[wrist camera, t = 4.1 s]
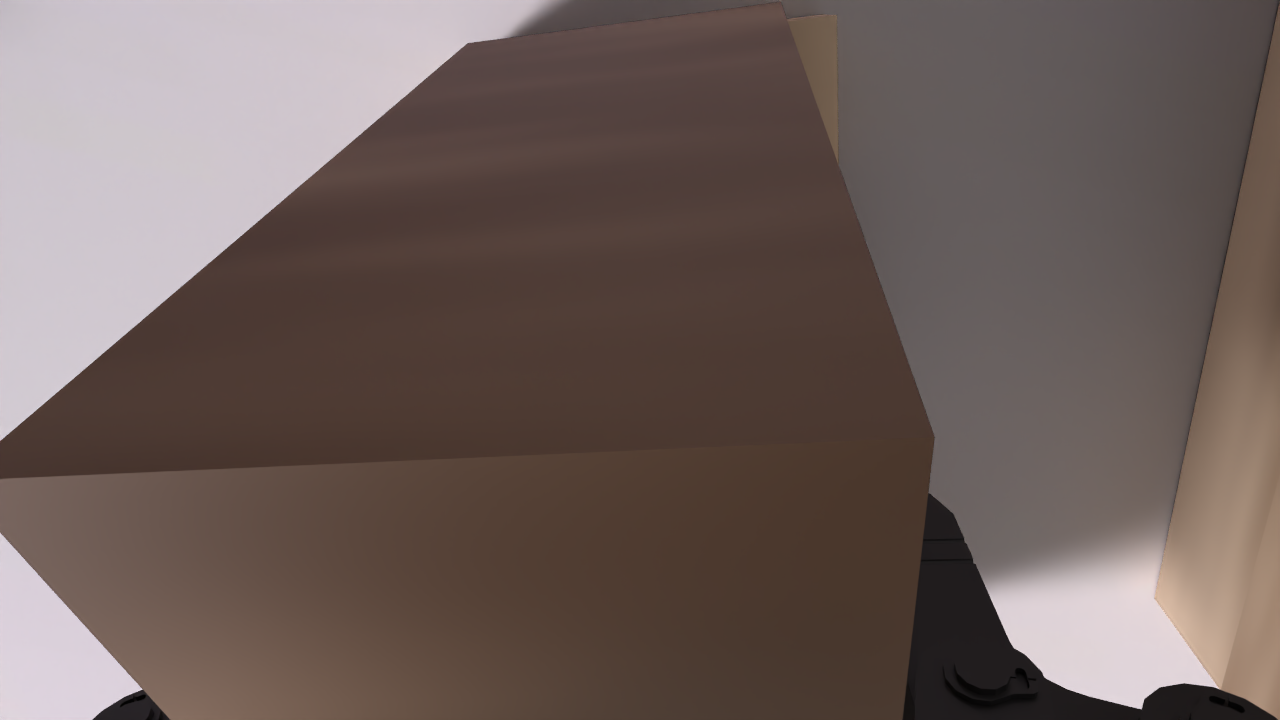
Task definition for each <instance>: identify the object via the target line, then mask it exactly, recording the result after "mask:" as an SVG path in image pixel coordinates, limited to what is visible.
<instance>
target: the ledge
mask: <svg viewBox="0 0 1280 720" xmlns="http://www.w3.org/2000/svg"><path fill="white" fill-rule="evenodd" d="M1155 600H1156V601H1157V603H1158V604H1159V605H1160V607H1161V608H1162V610H1163V611H1164V612H1165V614H1166V615H1167V617H1168V618H1169V619H1170V621H1171V622H1172V624H1173V625H1174V626H1175V628H1176V629H1177V631H1178V632H1179V633H1180V635H1181V636H1182V637H1183V639H1184V640H1185V642H1186V643H1187V644H1188V646H1189V647H1190V649H1191V650H1192V651H1193V653H1194V654H1195V656H1196V657H1197V658H1198V660H1199V661H1200V663H1201V664H1202V665H1203V667H1204V668H1205V669H1206V671H1207V672H1208V674H1209V675H1210V676H1211V678H1212V679H1213V681H1214V682H1215V683H1216V685H1217V686H1218V688H1219V689H1220V690H1222V691H1225V692H1228V693H1231V694H1233V695H1236V696H1239V697H1242V698H1244V699H1246V700H1248V701H1250V702H1251V703H1253V704H1255V705H1256V706H1258V707H1260V708H1261V709H1263V710H1265V711H1266V712H1268V713H1270V714H1271V715H1273V716H1274V717H1276V718H1277V719H1278V720H1280V2H1279V7H1278V12H1277V16H1276V21H1275V26H1274V31H1273V36H1272V40H1271V45H1270V50H1269V55H1268V59H1267V64H1266V69H1265V74H1264V78H1263V83H1262V88H1261V93H1260V98H1259V102H1258V107H1257V112H1256V117H1255V121H1254V126H1253V131H1252V136H1251V140H1250V145H1249V150H1248V155H1247V160H1246V164H1245V169H1244V174H1243V179H1242V183H1241V188H1240V193H1239V198H1238V203H1237V207H1236V212H1235V217H1234V222H1233V226H1232V231H1231V236H1230V241H1229V245H1228V250H1227V255H1226V260H1225V265H1224V269H1223V274H1222V279H1221V284H1220V288H1219V293H1218V298H1217V303H1216V307H1215V312H1214V317H1213V322H1212V327H1211V331H1210V336H1209V341H1208V346H1207V350H1206V355H1205V360H1204V365H1203V369H1202V374H1201V379H1200V384H1199V389H1198V393H1197V398H1196V403H1195V408H1194V412H1193V417H1192V422H1191V427H1190V431H1189V436H1188V441H1187V446H1186V451H1185V455H1184V460H1183V465H1182V470H1181V474H1180V479H1179V484H1178V489H1177V493H1176V498H1175V503H1174V508H1173V513H1172V517H1171V522H1170V527H1169V532H1168V536H1167V541H1166V546H1165V551H1164V555H1163V560H1162V565H1161V570H1160V575H1159V579H1158V584H1157V589H1156V594H1155Z"/></svg>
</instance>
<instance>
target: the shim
mask: <svg viewBox="0 0 1280 720" xmlns="http://www.w3.org/2000/svg"><path fill="white" fill-rule="evenodd" d="M787 21H788V24H789V26H790V29H791V32H792V35H793V38H794V41H795V43H796V46H797V49H798V52H799V55H800V58H801V60H802V63H803V66H804V69H805V72H806V75H807V77H808V80H809V83H810V86H811V89H812V91H813V94H814V97H815V100H816V103H817V106H818V108H819V111H820V114H821V117H822V120H823V123H824V125H825V128H826V131H827V134H828V137H829V140H830V142H831V145H832V148H833V151H834V154H835V157H836V159H837V162H838V165H839V156H838V62H837V15H824V14H821V15H813V16H806V17H798V18H790V19H787Z"/></svg>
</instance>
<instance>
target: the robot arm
mask: <svg viewBox="0 0 1280 720" xmlns="http://www.w3.org/2000/svg"><path fill="white" fill-rule="evenodd" d="M93 720H170V719H169V718H168V717H167V715H166V714H165V713H164V712H163V711H162V710H161V709H160V708H159V707H158V706H157V704H156V703H155V702H154V701H153V700H152V699H151V698H150V697H149V696H148V695H147V693H146V692H145V691H144V690H141V691H138V692H136V693H133V694H131V695H128V696H126V697H124V698H122V699H121V700H119V701H117V702H116V703H114V704H113V705H111V706H109V707H108V708H106V709H104V710H103V711H102V712H100V713H99V714H98V715H97V716H96V717H95V718H94V719H93ZM903 720H1278V719H1277V718H1276V717H1274V716H1273V715H1271V714H1270V713H1268V712H1266V711H1265V710H1263V709H1261V708H1260V707H1258V706H1256V705H1255V704H1253V703H1251V702H1250V701H1248V700H1246V699H1244V698H1242V697H1239V696H1236V695H1233V694H1231V693H1228V692H1225V691H1222V690H1220V689H1217V688H1214V687H1207V686H1200V685H1192V684H1178V685H1172V686H1166V687H1160V688H1159V689H1157V690H1156V691H1155V692H1153V693H1152V694H1151V695H1149V696H1148V697H1147V698H1145V699H1144V703H1143V707H1142V710H1141V709H1137V708H1133V707H1128V706H1124V705H1120V704H1116V703H1112V702H1108V701H1104V700H1100V699H1096V698H1092V697H1088V696H1085V695H1082V694H1079V693H1076V692H1073V691H1070V690H1067V689H1065V688H1063V687H1061V686H1059V685H1057V684H1055V683H1053V682H1051V681H1049V680H1047V679H1046V678H1044V676H1043V674H1042V672H1041V671H1040V670H1039V669H1038V668H1037V667H1036V666H1035V665H1034V664H1033V662H1032V661H1031V660H1030V659H1029V658H1028V657H1027V656H1026V655H1025V654H1023V653H1021V652H1019V651H1018V650H1016V649H1014V648H1013V646H1012V645H1011V643H1010V641H1009V639H1008V637H1007V635H1006V633H1005V630H1004V628H1003V626H1002V624H1001V621H1000V619H999V617H998V614H997V612H996V610H995V608H994V605H993V603H992V601H991V599H990V596H989V594H988V592H987V589H986V587H985V585H984V583H983V580H982V578H981V576H980V574H979V571H978V569H977V567H976V564H974V563H973V558H972V555H971V553H970V551H969V549H968V546H967V544H966V543H964V537H963V535H962V533H961V530H960V528H959V526H958V524H957V521H956V519H955V517H954V514H953V513H952V512H950V511H949V510H948V509H947V508H946V507H945V506H943V505H942V504H941V503H940V502H939V501H938V500H937V499H935V498H934V497H933V496H932V495H931V494H928V499H927V508H926V517H925V526H924V534H923V543H922V552H921V561H920V570H919V579H918V587H917V596H916V605H915V614H914V623H913V631H912V640H911V649H910V658H909V667H908V675H907V684H906V693H905V702H904V711H903Z"/></svg>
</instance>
